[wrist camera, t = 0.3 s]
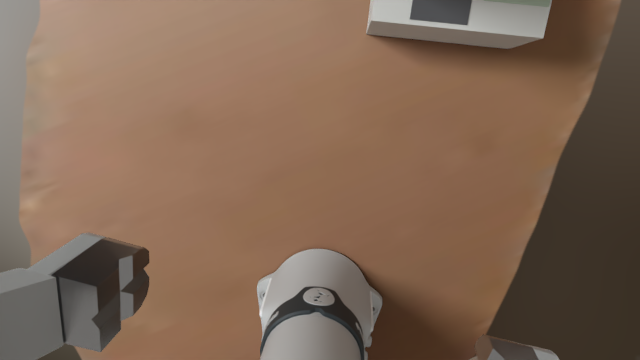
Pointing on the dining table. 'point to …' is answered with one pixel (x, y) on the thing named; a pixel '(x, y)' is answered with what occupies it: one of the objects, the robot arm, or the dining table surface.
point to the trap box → (461, 21)
